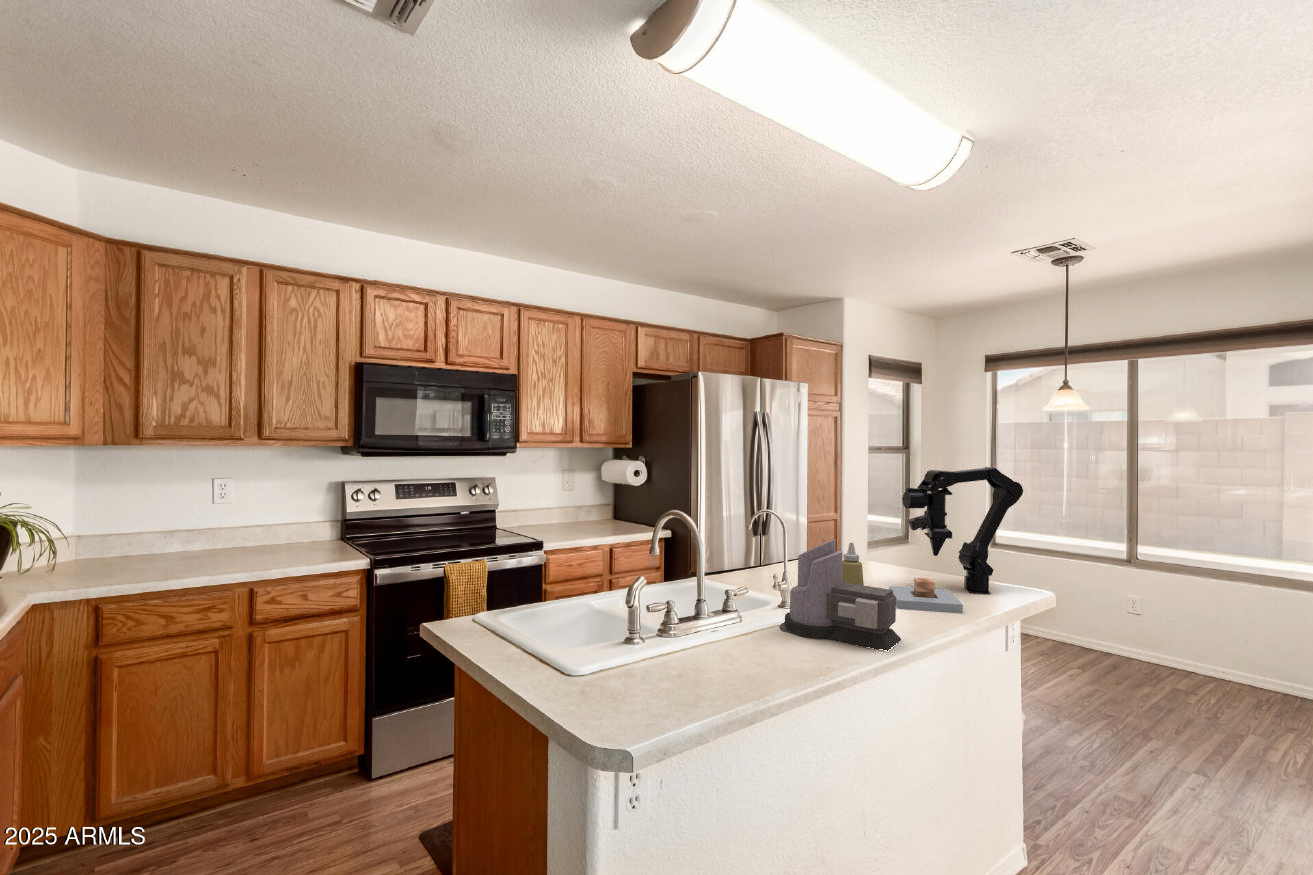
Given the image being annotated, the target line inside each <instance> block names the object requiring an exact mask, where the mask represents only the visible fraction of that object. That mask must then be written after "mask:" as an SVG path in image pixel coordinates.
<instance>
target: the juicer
mask: <svg viewBox="0 0 1313 875" xmlns="http://www.w3.org/2000/svg"><path fill="white" fill-rule="evenodd" d="M843 555H844V553H843V551H842V550H837V551H836V539H835V538H834V539H831V540H828V541H826V542H824V543H822V544H820V545H817V546H815V547H813V548H811V549H809V550H807V551H804V552H802V553H801V554H799V555H798V556H797V585H795V586H793V587H792V588H791V589H790V591H789V592H790V593H789V612H787V613H785V615H784V621H783V622H784V623H783V622H782V624H781V623H780V624H781V625H780V624H779V630H780V631H781V632H785V633H789V634H792V635H794V636H798V637H800V638H805V639H811V640H812V639H813V640H821V641H822V640H828V641H833V642H837V643H843V644H847V643H848V644H847V645H850V646H851V645H852V646H856V645H858V647H861V646H862V648H866V647H870V648H874V649H873V650H875V649H883V650H887V651H888V650H889V649H891V647H893V646H894V645H896V643H898V642H899V641H900V642H901V641H902V640H901V639H902V638H901V637H900V635H899V634H897V632H896V631H895V630H893V628H891V626H893V624H895V623H896V622H897V621H896V620H897V619H896V617H897V616H896V615H897V607H896V596H894V595H893V590H890V589H888V588H883V587H877V586H876V587H875V586H869V585H865V584H864V585H857V584H851V583H844V582H842V561H843ZM900 642H899V643H900ZM899 643H898V644H899ZM896 646H897V645H896ZM870 648H869V649H870Z"/></svg>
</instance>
